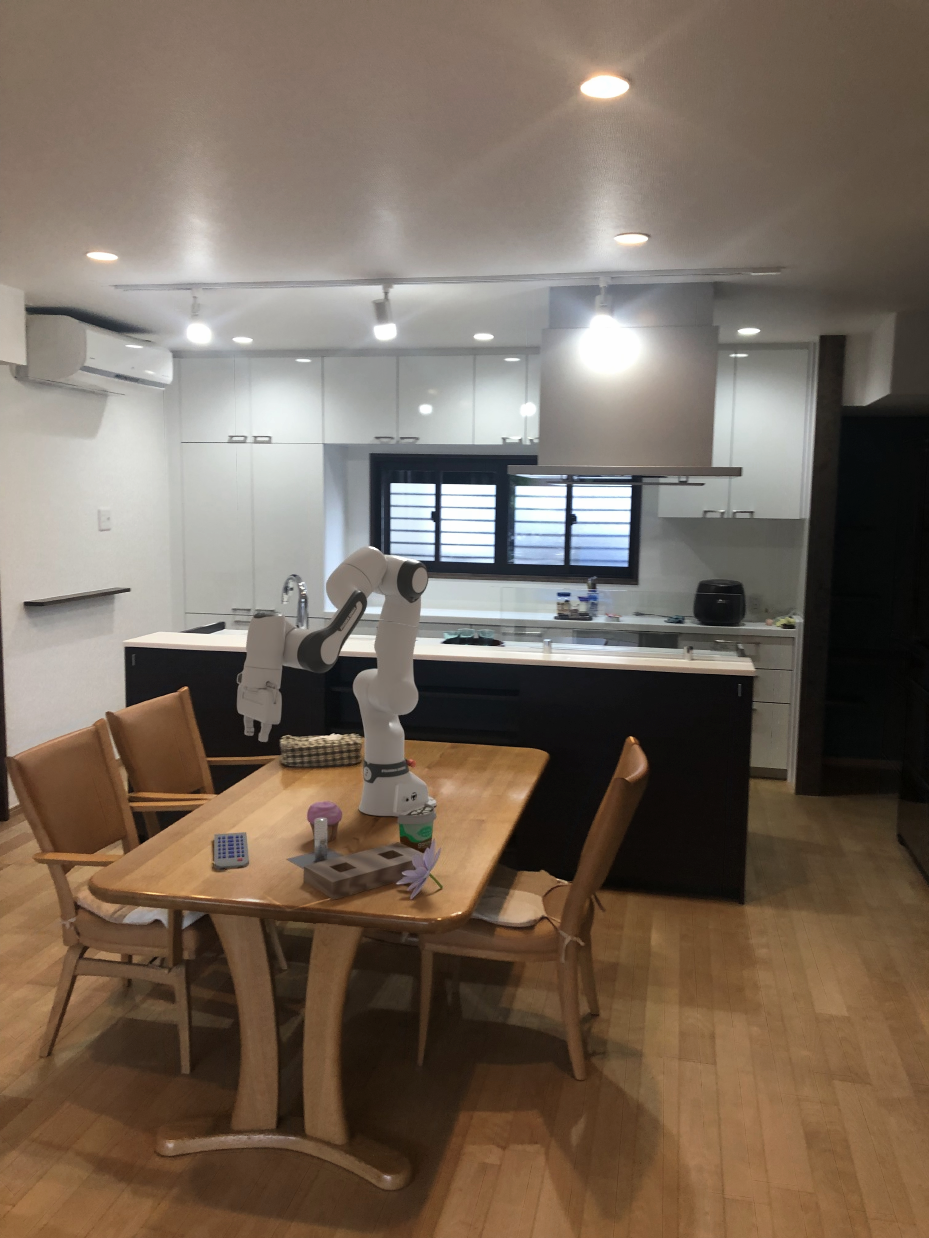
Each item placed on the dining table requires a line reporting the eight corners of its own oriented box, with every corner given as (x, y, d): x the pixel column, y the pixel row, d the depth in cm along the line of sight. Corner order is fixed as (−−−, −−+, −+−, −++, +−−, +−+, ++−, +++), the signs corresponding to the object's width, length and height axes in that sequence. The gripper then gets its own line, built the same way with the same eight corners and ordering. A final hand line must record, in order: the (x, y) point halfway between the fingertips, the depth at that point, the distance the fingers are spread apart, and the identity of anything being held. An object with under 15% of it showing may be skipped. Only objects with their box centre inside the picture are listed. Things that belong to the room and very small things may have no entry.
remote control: (246, 839, 244) (246, 830, 244) (249, 870, 222) (249, 861, 222) (214, 841, 242) (214, 832, 242) (214, 872, 220) (213, 863, 220)
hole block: (397, 858, 230) (398, 841, 230) (428, 872, 221) (428, 855, 221) (303, 883, 214) (303, 866, 213) (332, 900, 204) (332, 882, 204)
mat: (329, 849, 235) (329, 848, 235) (356, 863, 226) (356, 862, 226) (286, 860, 228) (286, 858, 228) (312, 875, 218) (312, 873, 218)
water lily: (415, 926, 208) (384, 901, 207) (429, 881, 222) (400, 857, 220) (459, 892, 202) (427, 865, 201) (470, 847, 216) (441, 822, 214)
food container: (417, 859, 229) (418, 819, 228) (396, 854, 233) (397, 814, 232) (445, 845, 240) (446, 806, 239) (425, 840, 243) (425, 802, 242)
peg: (323, 857, 229) (322, 816, 228) (329, 860, 227) (329, 819, 226) (312, 860, 227) (312, 819, 226) (318, 863, 225) (318, 822, 224)
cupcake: (331, 847, 237) (331, 808, 236) (300, 843, 240) (300, 804, 239) (347, 836, 245) (347, 798, 244) (317, 832, 248) (317, 795, 247)
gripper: (291, 685, 218) (284, 745, 218) (259, 676, 235) (253, 732, 235) (264, 683, 214) (258, 744, 214) (234, 674, 232) (228, 731, 231)
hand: (255, 738), depth 225 cm, fingers open, 8 cm apart
